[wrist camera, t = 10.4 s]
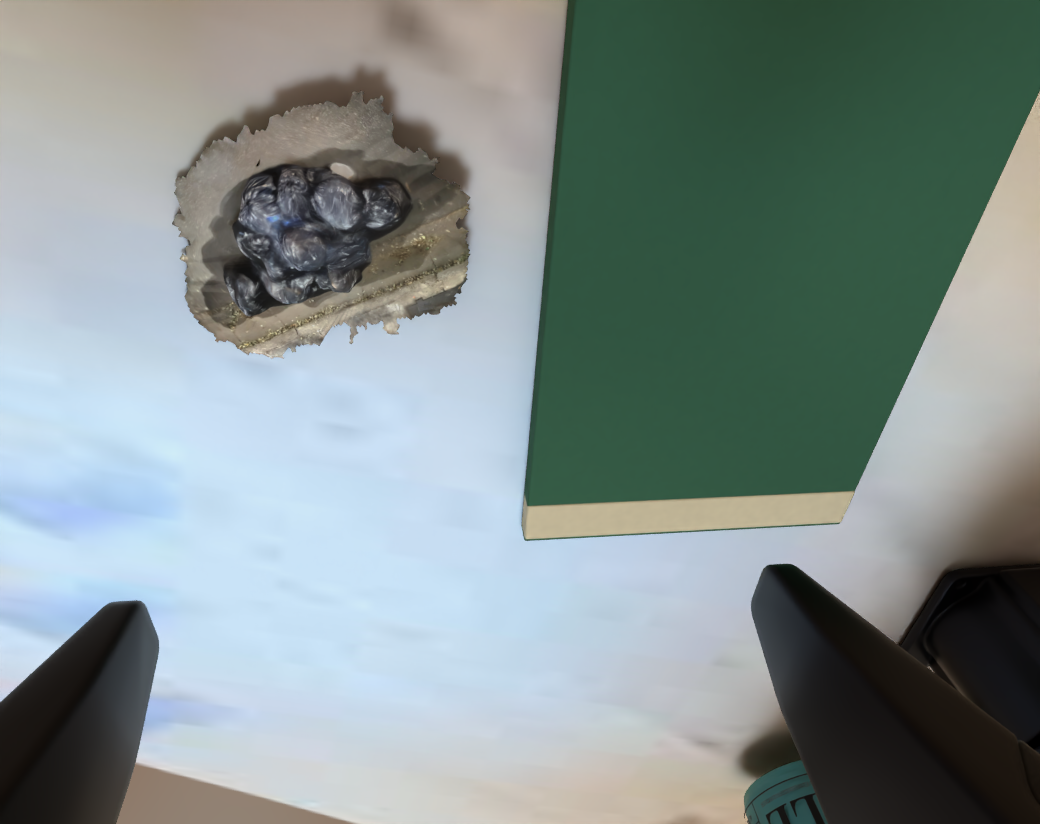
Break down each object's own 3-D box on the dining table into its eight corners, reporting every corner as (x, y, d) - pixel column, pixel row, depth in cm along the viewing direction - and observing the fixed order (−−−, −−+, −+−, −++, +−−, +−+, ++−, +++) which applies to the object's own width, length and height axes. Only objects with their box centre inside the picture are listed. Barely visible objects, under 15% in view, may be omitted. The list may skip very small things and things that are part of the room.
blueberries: (520, 240, 18) (530, 269, 16) (317, 413, 20) (309, 453, 19) (321, 18, 14) (311, 27, 13) (104, 257, 17) (73, 290, 15)
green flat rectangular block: (829, 509, 26) (840, 525, 25) (521, 525, 24) (524, 542, 23) (1132, -175, 14) (1168, -181, 14) (588, -241, 13) (599, -251, 12)
